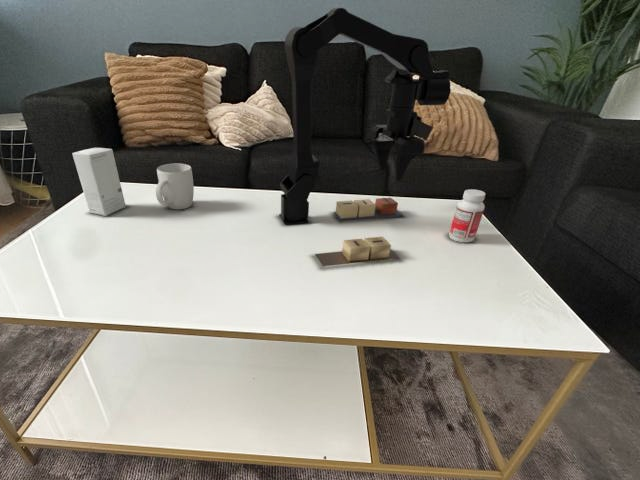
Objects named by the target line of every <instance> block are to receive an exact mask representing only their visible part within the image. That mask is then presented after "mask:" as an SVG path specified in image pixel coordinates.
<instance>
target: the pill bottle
mask: <svg viewBox="0 0 640 480" xmlns="http://www.w3.org/2000/svg"><path fill="white" fill-rule="evenodd" d="M485 198H486V192H485V191H483V190H480V189H475V188H474V189H472V188H471V189H465V190H464V192H463V195H462V199H460V200H459V201H458V202H457V205H456V207H455V211H454V213H453V218H452V222H451V225H450V228H449V233H448V236H449V238H450V239H451V240H453V241H455V242H458V243H472V242H473V241H475V239H476V236H477V233H478V230H479V227H480V224H481V220H482V217H483V214H484V212H485V207H486V206H485V203H484V200H485Z"/></svg>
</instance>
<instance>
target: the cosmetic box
mask: <svg viewBox="0 0 640 480" xmlns="http://www.w3.org/2000/svg"><path fill="white" fill-rule="evenodd" d="M72 158H73V161H74V164H75V168H76V171H77V174H78V179H79V182H80V185H81V188H82V191H83V195H84V198H85V202H86V206H87V209H88V212H89V213H90V214H94V215H98V216H102V217H107V216H109V215H111V214H113V213H115V212H117V211H119V210H123V209H124V208H126V207H127V206H126V201H125V196H124V193H123V188H122V186H121V185H122V184H121V181H120V177H119V176H120V175H119V172H118V168H117V163H116V159H115V156H114V151H113V149H112V148H105V147H91V148H87V149H82V150H79V151H75V152H72Z"/></svg>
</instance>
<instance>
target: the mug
mask: <svg viewBox="0 0 640 480" xmlns="http://www.w3.org/2000/svg"><path fill="white" fill-rule="evenodd" d="M156 174H157V180H158V183H157V185H156V188H155V197H156V200H157V202H158V203H159V204H160V205H161V206H165V207H168V208H169V209H172V210H185V209H188V208H190V207H191V206H192V205H193V201H194V194H195V193H194V191H195V190H194V189H195V188H194V187H195V186H194V177H193V170H192V167H191V165H189V164H185V163H181V162H180V163H178V162H177V163H176V162H175V163H174V162H173V163H166V164H162V165H159V166H157V167H156Z"/></svg>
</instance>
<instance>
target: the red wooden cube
mask: <svg viewBox="0 0 640 480" xmlns="http://www.w3.org/2000/svg"><path fill="white" fill-rule="evenodd" d="M374 204H375V205H376V206H375V210H376V211H377V212H378V213H379V214H380V215H390V214H396V211H397V210H398V206H399V202H397V201H396V200H395V199H393V198H392V197H381V198H380V197H379V198H375V202H374Z"/></svg>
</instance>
